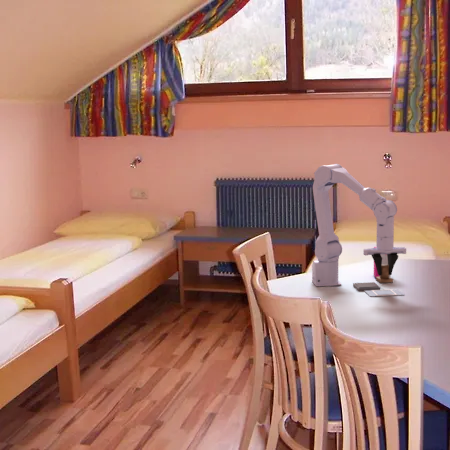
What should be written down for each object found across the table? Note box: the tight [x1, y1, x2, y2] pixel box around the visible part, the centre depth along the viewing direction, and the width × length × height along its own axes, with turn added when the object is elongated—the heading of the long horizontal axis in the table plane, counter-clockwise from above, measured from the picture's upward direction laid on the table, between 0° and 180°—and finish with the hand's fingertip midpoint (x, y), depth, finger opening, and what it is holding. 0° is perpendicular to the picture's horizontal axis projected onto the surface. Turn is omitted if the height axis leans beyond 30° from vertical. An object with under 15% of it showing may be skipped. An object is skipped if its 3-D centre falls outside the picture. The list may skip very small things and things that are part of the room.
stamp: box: [375, 264, 394, 285], centre depth 240 cm, size 4×4×6 cm
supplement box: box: [373, 246, 392, 280], centre depth 263 cm, size 6×6×12 cm
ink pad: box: [352, 281, 381, 292], centre depth 249 cm, size 8×7×1 cm
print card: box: [364, 288, 405, 298], centre depth 241 cm, size 12×7×1 cm, turn 94°
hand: (384, 274), depth 240 cm, fingers closed on stamp, 3 cm apart
